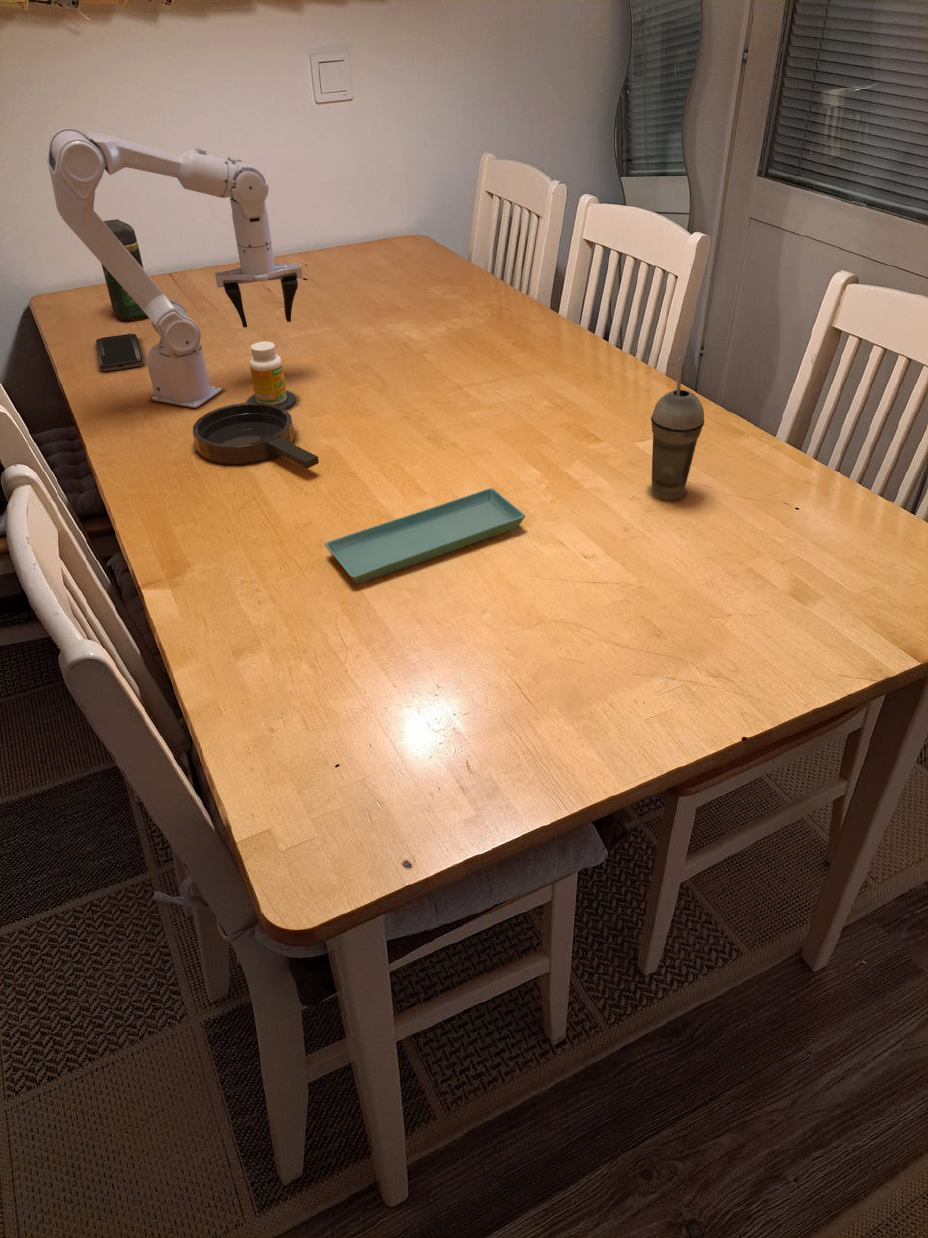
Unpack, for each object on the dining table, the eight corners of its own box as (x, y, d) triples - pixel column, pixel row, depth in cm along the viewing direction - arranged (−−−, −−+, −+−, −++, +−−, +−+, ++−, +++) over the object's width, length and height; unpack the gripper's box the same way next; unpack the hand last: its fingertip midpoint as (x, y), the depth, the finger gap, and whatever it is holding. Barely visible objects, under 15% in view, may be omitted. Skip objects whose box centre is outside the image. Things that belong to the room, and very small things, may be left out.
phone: (135, 332, 182) (142, 359, 171) (137, 338, 183) (143, 365, 172) (95, 338, 180) (99, 366, 169) (96, 344, 181) (100, 372, 170)
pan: (176, 454, 144) (172, 436, 142) (233, 414, 155) (230, 396, 153) (260, 472, 139) (256, 453, 137) (312, 429, 150) (309, 411, 148)
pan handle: (266, 448, 141) (264, 441, 140) (278, 442, 142) (277, 435, 142) (306, 469, 136) (305, 462, 135) (319, 463, 137) (318, 456, 136)
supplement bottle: (280, 407, 155) (272, 352, 149) (251, 405, 156) (241, 350, 150) (291, 394, 160) (283, 340, 154) (262, 391, 160) (253, 338, 154)
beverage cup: (662, 510, 128) (681, 376, 116) (632, 487, 133) (646, 356, 121) (703, 497, 131) (725, 364, 118) (671, 475, 136) (690, 346, 123)
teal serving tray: (353, 590, 115) (351, 575, 113) (325, 555, 121) (322, 540, 119) (526, 531, 125) (527, 515, 123) (492, 501, 131) (492, 486, 129)
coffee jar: (158, 317, 192) (136, 225, 181) (120, 324, 189) (96, 231, 178) (147, 303, 199) (126, 213, 187) (110, 310, 196) (86, 219, 185)
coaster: (238, 408, 157) (237, 405, 156) (264, 389, 163) (264, 386, 162) (279, 416, 154) (279, 413, 154) (305, 396, 160) (304, 393, 160)
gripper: (211, 254, 147) (227, 335, 155) (300, 244, 150) (311, 325, 158) (208, 242, 152) (223, 321, 161) (294, 233, 155) (304, 311, 164)
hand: (266, 322), depth 160 cm, fingers open, 7 cm apart
